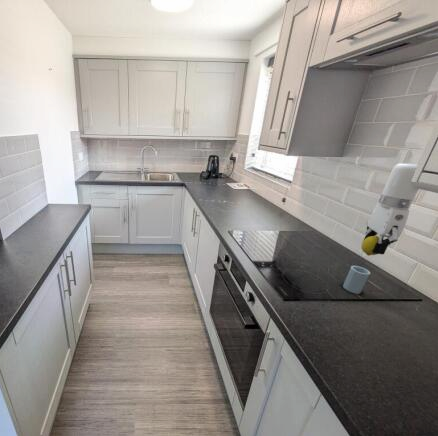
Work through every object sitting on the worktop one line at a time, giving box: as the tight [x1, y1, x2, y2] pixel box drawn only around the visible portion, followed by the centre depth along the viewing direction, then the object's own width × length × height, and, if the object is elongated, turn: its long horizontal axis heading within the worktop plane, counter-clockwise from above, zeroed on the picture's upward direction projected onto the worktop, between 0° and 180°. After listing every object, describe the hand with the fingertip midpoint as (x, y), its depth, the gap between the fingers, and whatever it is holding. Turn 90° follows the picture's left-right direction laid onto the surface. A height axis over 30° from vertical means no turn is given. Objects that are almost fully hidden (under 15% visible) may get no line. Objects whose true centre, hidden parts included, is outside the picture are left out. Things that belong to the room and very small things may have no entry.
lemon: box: [361, 235, 379, 257], centre depth 83 cm, size 6×6×8 cm
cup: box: [342, 265, 371, 295], centre depth 89 cm, size 6×6×9 cm
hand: (372, 248), depth 83 cm, fingers closed on lemon, 5 cm apart
